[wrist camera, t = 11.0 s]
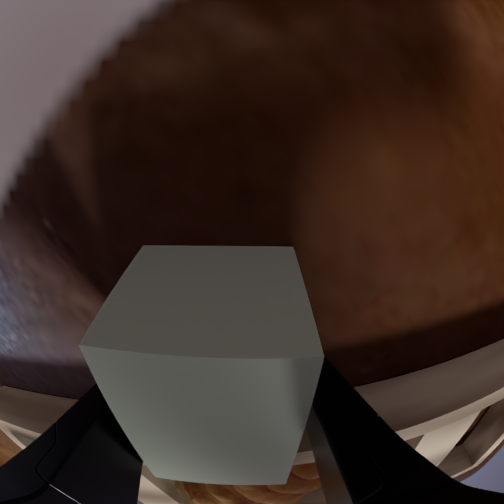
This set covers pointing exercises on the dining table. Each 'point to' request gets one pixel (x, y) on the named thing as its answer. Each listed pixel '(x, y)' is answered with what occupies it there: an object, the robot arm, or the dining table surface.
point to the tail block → (209, 361)
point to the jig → (377, 396)
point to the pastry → (253, 489)
